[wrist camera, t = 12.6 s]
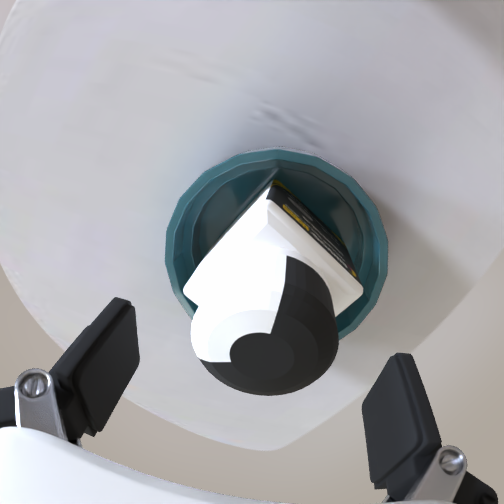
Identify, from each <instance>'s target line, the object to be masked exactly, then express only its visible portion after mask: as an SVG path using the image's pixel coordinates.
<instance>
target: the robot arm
mask: <svg viewBox="0 0 504 504" xmlns="http://www.w3.org/2000/svg"><path fill="white" fill-rule="evenodd" d="M139 362H140V356H139V347H138V337H137V326H136V314H135V307H134V306H132V305H131V302H130V301H128V300H124V299H121V298H117V297H115V298H114V299H113V300H112V301H111V302H110V303H109V304H108V305H107V306H106V307H105V309H104V310H103V311H102V312H101V313H100V314H99V315H98V317H97V318H96V319H95V320H94V321H93V322H92V323H91V325H89V326H87V327H86V328H85V329H84V330H83V331H82V332H81V334H80V335H79V336H78V337H77V338H76V340H75V341H74V342H73V343H72V344H71V345H70V347H69V348H68V349H67V350H66V351H65V353H64V354H63V355H62V356H61V358H60V359H59V360H58V361H57V363H56V364H55V365H54V366H53V367H52V369H51V370H50V371H49V372H46V371H45V370H42V369H39V368H36V369H35V368H34V369H33V368H32V369H29V370H26V371H24V372H23V373H21V374H20V375H19V377H18V378H17V380H16V383H15V386H12V387H6V388H0V504H292V503H281V502H271V501H262V500H255V499H248V498H241V497H235V496H230V495H224V494H219V493H215V492H210V491H205V490H201V489H197V488H193V487H189V486H185V485H181V484H178V483H174V482H171V481H167V480H164V479H161V478H157V477H154V476H151V475H148V474H145V473H142V472H140V471H137V470H134V469H132V468H129V467H126V466H124V465H121V464H118V463H116V462H113V461H111V460H108V459H106V458H103V457H101V456H99V455H96V454H94V453H92V452H90V451H87V450H85V449H83V448H82V444H81V441H80V438H81V437H82V435H83V433H86V434H88V435H90V436H93V437H94V436H95V435H96V433H97V431H98V432H101V431H102V430H103V428H104V426H105V424H106V423H107V421H108V419H109V417H110V415H111V413H112V412H113V410H114V408H115V406H116V405H117V403H118V401H119V399H120V397H121V396H122V394H123V392H124V390H125V388H126V387H127V385H128V383H129V381H130V380H131V378H132V376H133V374H134V373H135V371H136V369H137V367H138V365H139ZM362 415H363V421H364V428H365V436H366V443H367V453H368V461H369V471H370V480H371V482H372V483H374V486H375V489H387V493H388V495H387V496H386V497H385V499H384V500H383V501H382V503H377V504H498V498H497V494H496V493H495V491H494V490H493V489H492V488H491V487H489V486H488V485H486V484H485V483H483V482H482V481H480V480H479V479H477V478H476V477H475V476H473V475H472V474H470V473H469V472H467V471H466V469H467V459H466V456H465V455H464V453H463V452H462V451H461V450H460V449H459V448H457V447H455V446H451V445H447V446H443V447H442V445H441V442H442V441H441V438H440V434H439V431H438V428H437V424H436V421H435V418H434V415H433V412H432V409H431V406H430V403H429V400H428V397H427V394H426V391H425V388H424V385H423V383H422V380H421V377H420V375H419V372H418V369H417V367H416V364H415V361H414V359H413V356H412V355H411V354H406V353H396V354H395V355H394V356H391V357H390V358H389V360H388V361H387V363H386V365H385V367H384V368H383V370H382V372H381V374H380V375H379V377H378V379H377V380H376V382H375V384H374V385H373V387H372V388H371V390H370V392H369V393H368V395H367V397H366V398H365V400H364V402H363V404H362Z"/></svg>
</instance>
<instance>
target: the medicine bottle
mask: <svg viewBox="0 0 504 504" xmlns="http://www.w3.org/2000/svg"><path fill="white" fill-rule="evenodd" d="M183 291H184V294H185V295H186V296H187V297H188V298H189V299H190V300H192V301H193V302H194V303H195V304H197V305H198V306H199V307H198V309H197V311H196V313H195V315H194V318H193V321H192V326H191V339H192V343H193V347H194V350H195V352H196V354H197V356H198V358H199V359H200V361H201V362H202V364H203V365H204V366H205V368H206V369H207V370H208V371H209V372H210V373H211V374H212V375H213V376H214V377H215V378H217V379H218V380H219V381H221V382H222V383H224V384H226V385H227V386H229V387H232V388H234V389H236V390H239V391H242V392H245V393H249V394H255V395H264V396H273V395H283V394H288V393H292V392H295V391H298V390H300V389H303V388H304V387H306V386H308V385H310V384H311V383H313V382H314V381H316V380H317V379H318V378H320V377H321V376H322V375H323V374H324V373H325V372H326V371H327V370H328V368H329V367H330V366H331V364H332V362H333V361H334V359H335V356H336V354H337V350H338V345H339V335H338V329H337V324H336V318H335V317H336V316H337V315H338V314H340V313H341V312H342V311H343V310H345V309H346V308H347V307H348V306H349V305H351V304H352V303H353V302H354V301H355V300H357V299H358V298H359V297H360V296H361V295H362V294H363V286H362V284H361V281H360V279H359V276H358V274H357V272H356V269H355V267H354V264H353V262H352V259H351V257H350V255H349V252H348V250H347V248H346V245H345V244H344V242H343V241H342V240H341V239H340V238H339V237H338V236H337V235H336V234H335V233H333V232H332V231H331V230H330V229H329V228H328V227H327V226H326V225H325V224H324V223H323V222H322V221H321V220H320V219H319V218H318V217H317V216H316V215H315V214H314V213H313V212H312V211H311V210H310V209H309V208H308V207H307V206H305V205H304V204H303V203H302V202H301V201H300V200H299V199H298V198H297V197H296V196H295V195H294V194H293V193H292V192H290V191H289V190H288V189H287V188H286V187H285V186H284V185H283V184H282V183H281V182H280V181H278V180H272V181H271V182H270V183H269V184H268V185H267V186H266V187H265V188H264V189H263V190H262V191H261V192H260V194H259V195H258V196H257V197H256V198H255V199H254V200H253V201H252V202H251V203H250V204H249V205H248V207H247V208H246V209H245V210H244V211H243V212H242V213H241V214H240V215H239V216H238V218H237V219H236V220H235V221H234V222H233V223H232V224H231V225H230V226H229V227H228V229H227V230H226V231H225V232H224V233H223V234H222V235H221V236H220V237H219V239H218V240H217V241H216V242H215V243H214V244H213V245H212V247H211V248H210V250H209V251H208V253H207V254H206V256H205V257H204V258H203V260H202V261H201V263H200V264H199V266H198V267H197V269H196V270H195V272H194V273H193V275H192V276H191V278H190V279H189V281H188V282H187V284H186V285H185V287H184V290H183Z"/></svg>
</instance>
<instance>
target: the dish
mask: <svg viewBox="0 0 504 504" xmlns="http://www.w3.org/2000/svg"><path fill="white" fill-rule="evenodd" d="M272 180H278V181H280V182H281V183H282V184H283V185H284V186H285V187H286V188H287V189H288V190H289V191H290V192H292V193H293V194H294V195H295V196H296V197H297V198H298V199H299V200H300V201H301V202H302V203H303V204H304V205H305V206H307V207H308V208H309V209H310V210H311V211H312V212H313V213H314V214H315V215H316V216H317V217H318V218H319V219H320V220H321V221H322V222H323V223H324V224H325V225H326V226H327V227H328V228H329V229H330V230H331V231H332V232H333V233H335V234H336V235H337V236H338V237H339V238H340V239H341V240H342V241H343V242H344V244H345V245H346V248H347V250H348V252H349V255H350V257H351V259H352V262H353V264H354V267H355V269H356V272H357V274H358V276H359V279H360V281H361V284H362V286H363V294H362V295H361V296H360V297H359V298H358V299H357V300H355V301H354V302H353V303H352V304H351V305H349V306H348V307H347V308H346V309H345V310H343V311H342V312H341V313H340V314H338V315H337V316H336V317H335V318H336V324H337V329H338V335H339V340H340V339H342V338H343V337H345V336H346V335H348V334H349V333H351V332H352V331H354V330H355V329H356V328H357V327H358V326H359V325H360V323H361V322H362V321H363V320H364V319H365V317H366V316H367V315H368V314H369V312H370V311H371V310H372V309H373V307H374V306H375V305H376V303H377V300H378V298H379V295H380V292H381V290H382V287H383V284H384V282H385V279H386V276H387V271H388V239H387V236H386V233H385V230H384V227H383V224H382V221H381V218H380V215H379V212H378V209H377V207H376V206H375V204H374V203H373V202H372V200H371V199H370V198H369V197H368V195H367V194H366V193H365V192H364V191H363V189H362V188H361V187H360V186H359V184H358V183H357V182H356V181H355V180H354V178H352V177H351V176H350V175H349V174H347V173H346V172H345V171H343V170H342V169H340V168H339V167H337V166H335V165H334V164H332V163H330V162H329V161H327V160H325V159H323V158H322V157H320V156H318V155H317V154H315V153H312V152H307V151H303V150H298V149H293V148H287V147H282V146H281V147H280V146H278V147H270V148H263V149H256V150H249V151H246V152H243V153H240V154H238V155H236V156H234V157H232V158H230V159H228V160H226V161H224V162H222V163H220V164H218V165H216V166H214V167H212V168H211V169H209V170H207V171H205V172H204V173H202V175H201V176H200V177H199V178H198V179H197V180H196V181H195V182H194V183H193V184H192V185H191V186H190V187H189V189H188V190H187V191H186V192H185V193H184V194H183V195H182V196H181V197H180V199H179V201H178V203H177V205H176V208H175V210H174V213H173V215H172V217H171V220H170V222H169V225H168V227H167V231H166V247H165V265H166V268H167V272H168V275H169V279H170V282H171V286H172V289H173V292H174V294H175V296H176V297H177V299H178V300H179V302H180V303H181V305H182V306H183V308H184V309H185V311H186V312H187V314H188V316H189V317H190V318H191V319H192V320H193V318H194V315H195V313H196V311H197V309H198V307H199V306H198V305H197V304H195V303H194V302H193V301H192V300H190V299H189V298H188V297H187V296H186V295H185V294H184V291H183V290H184V287H185V285H186V284H187V282H188V281H189V279H190V278H191V276H192V275H193V273H194V272H195V270H196V269H197V267H198V266H199V264H200V263H201V261H202V260H203V258H204V257H205V256H206V254H207V253H208V251H209V250H210V248H211V247H212V245H213V244H214V243H215V242H216V241H217V240H218V239H219V237H220V236H221V235H222V234H223V233H224V232H225V231H226V230H227V229H228V227H229V226H230V225H231V224H232V223H233V222H234V221H235V220H236V219H237V218H238V216H239V215H240V214H241V213H242V212H243V211H244V210H245V209H246V208H247V207H248V205H249V204H250V203H251V202H252V201H253V200H254V199H255V198H256V197H257V196H258V195H259V194H260V192H261V191H262V190H263V189H264V188H265V187H266V186H267V185H268V184H269V183H270V182H271V181H272Z"/></svg>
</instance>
